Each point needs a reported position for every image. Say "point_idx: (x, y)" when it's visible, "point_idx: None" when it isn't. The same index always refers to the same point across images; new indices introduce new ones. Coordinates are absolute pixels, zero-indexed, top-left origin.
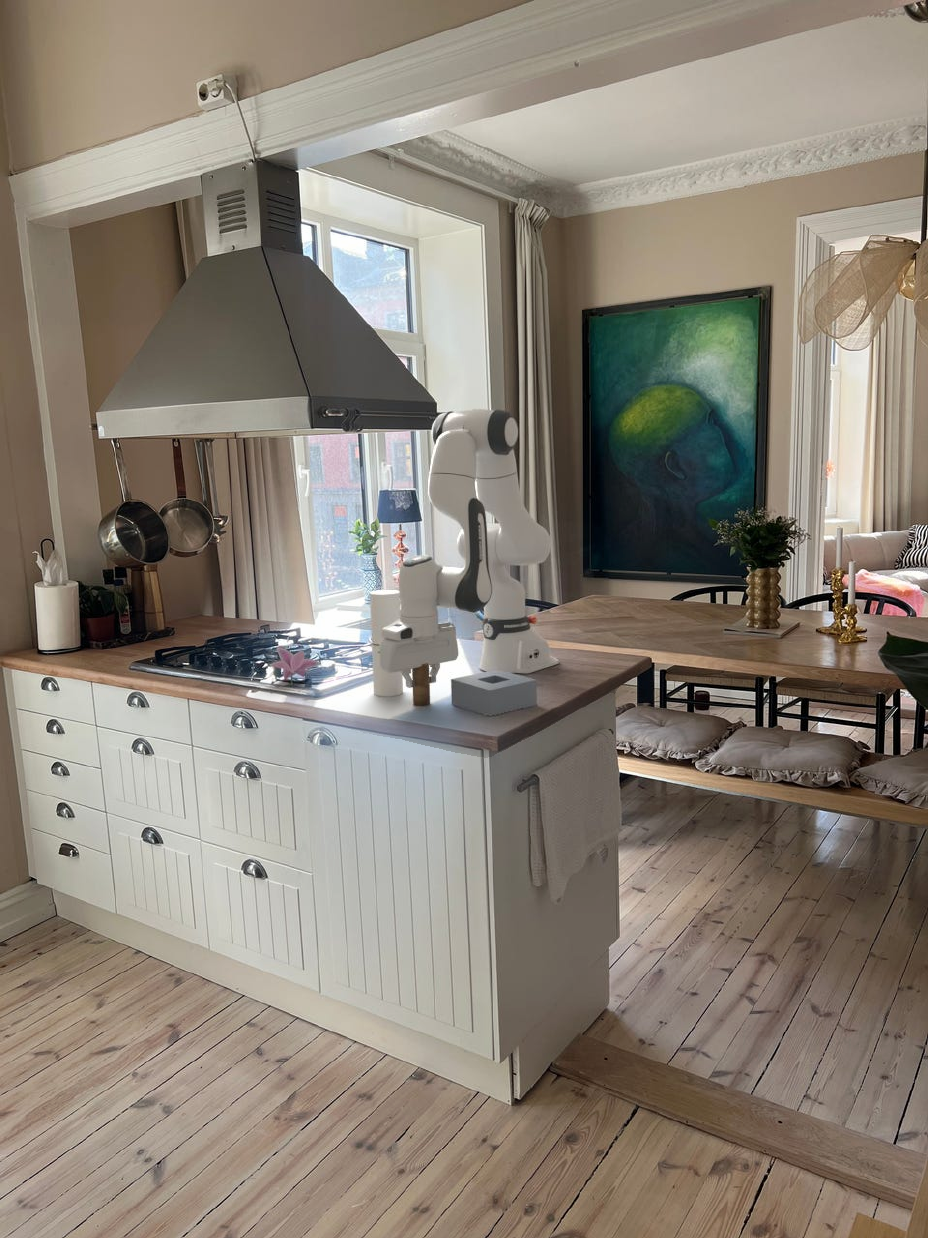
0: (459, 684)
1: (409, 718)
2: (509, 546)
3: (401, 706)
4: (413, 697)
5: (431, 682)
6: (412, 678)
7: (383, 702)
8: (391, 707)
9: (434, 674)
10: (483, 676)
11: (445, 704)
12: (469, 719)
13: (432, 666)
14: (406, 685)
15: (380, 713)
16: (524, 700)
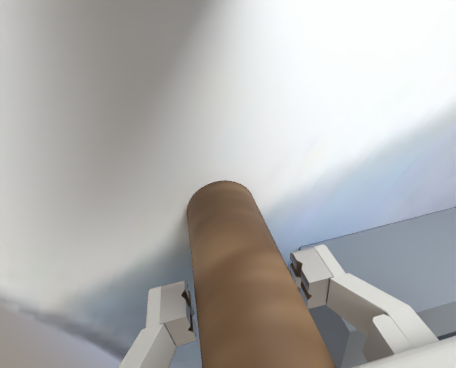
0: (336, 347)
1: (117, 319)
2: None
3: (132, 207)
4: (189, 232)
5: (294, 278)
6: (199, 311)
7: (54, 104)
8: (83, 203)
9: (334, 309)
10: (450, 326)
11: (285, 241)
12: None
13: (370, 343)
14: (149, 296)
15: (17, 257)
16: None
